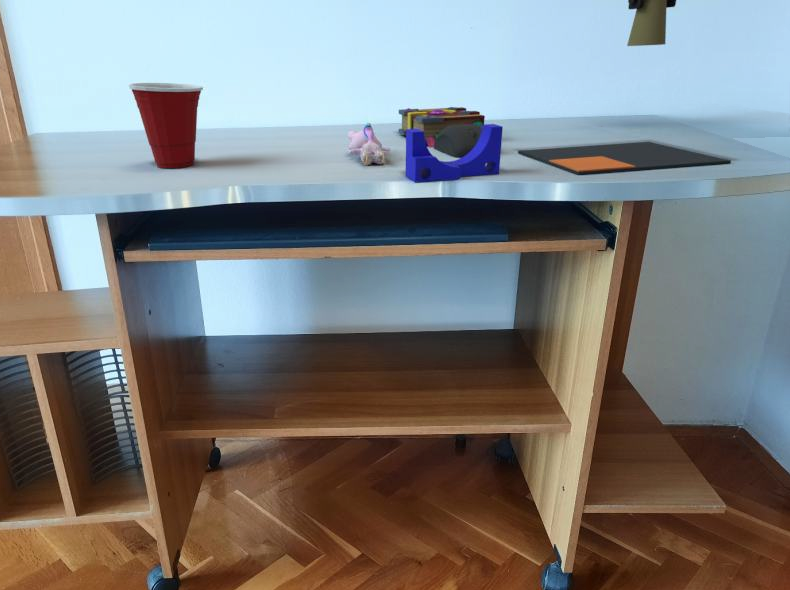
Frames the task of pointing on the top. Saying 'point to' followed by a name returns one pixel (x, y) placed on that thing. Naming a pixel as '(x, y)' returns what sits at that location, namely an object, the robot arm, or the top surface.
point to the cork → (649, 24)
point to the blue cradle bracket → (431, 169)
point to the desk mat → (620, 157)
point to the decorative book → (437, 120)
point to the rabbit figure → (367, 146)
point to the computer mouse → (458, 139)
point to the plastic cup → (169, 120)
